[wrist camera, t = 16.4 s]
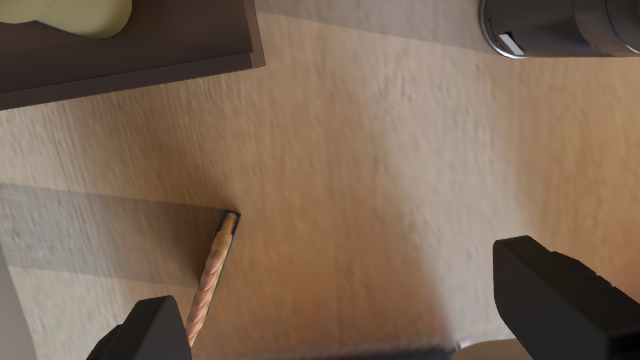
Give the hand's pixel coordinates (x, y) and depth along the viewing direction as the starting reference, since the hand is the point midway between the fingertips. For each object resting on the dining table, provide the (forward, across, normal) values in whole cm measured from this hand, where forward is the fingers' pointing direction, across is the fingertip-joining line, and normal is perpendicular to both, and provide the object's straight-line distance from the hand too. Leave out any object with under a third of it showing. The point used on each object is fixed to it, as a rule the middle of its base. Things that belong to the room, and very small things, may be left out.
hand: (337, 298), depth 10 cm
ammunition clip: (+34, +13, +14) cm, 39 cm away
